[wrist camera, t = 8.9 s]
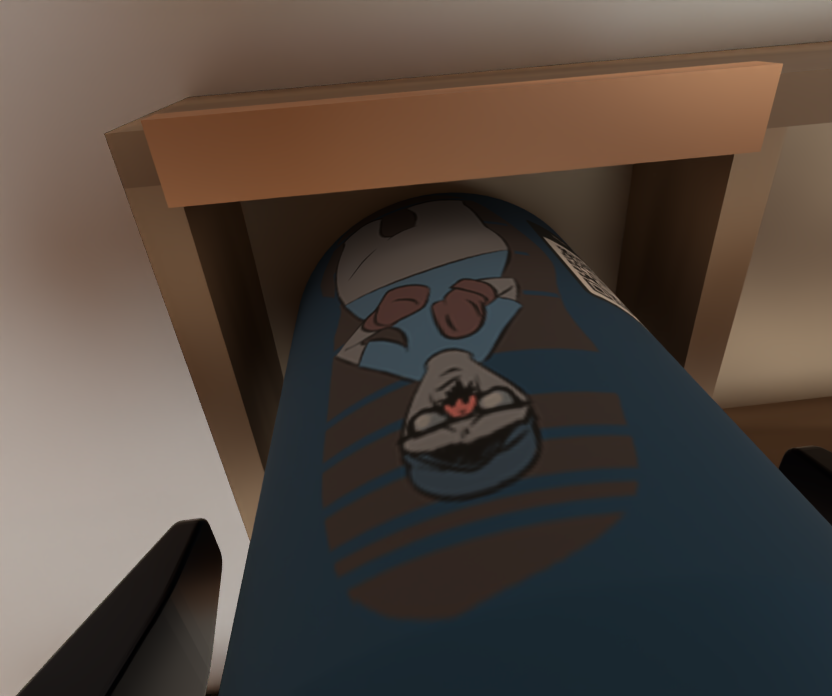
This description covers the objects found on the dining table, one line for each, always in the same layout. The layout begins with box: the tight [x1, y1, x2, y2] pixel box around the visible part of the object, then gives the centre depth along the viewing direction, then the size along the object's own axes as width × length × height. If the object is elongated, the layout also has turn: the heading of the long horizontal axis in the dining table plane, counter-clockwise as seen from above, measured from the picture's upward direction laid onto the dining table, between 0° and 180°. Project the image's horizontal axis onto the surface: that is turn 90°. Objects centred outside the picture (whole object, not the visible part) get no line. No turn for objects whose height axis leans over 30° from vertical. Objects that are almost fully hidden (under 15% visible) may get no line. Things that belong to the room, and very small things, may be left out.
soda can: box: [218, 192, 832, 696], centre depth 9 cm, size 7×7×12 cm
